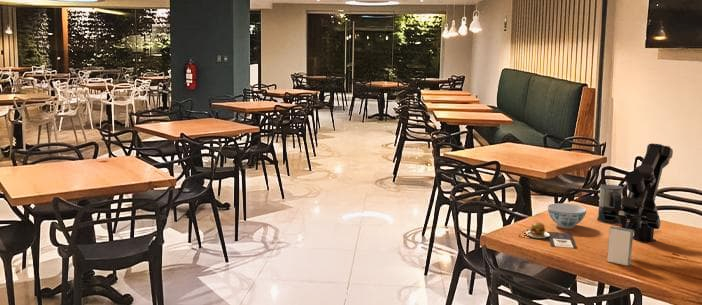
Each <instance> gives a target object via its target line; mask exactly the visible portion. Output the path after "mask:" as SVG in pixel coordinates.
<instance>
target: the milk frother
mask: <svg viewBox="0 0 702 305" xmlns="http://www.w3.org/2000/svg"><path fill="white" fill-rule="evenodd" d="M623 189H624V187H623V186H621V185H618V184H617V185H615V184H599V200H598V201H599V202H598V214H597V218H596V219H597V221H599V222H602V223H608V224H619V222H618V218H617V217H616V219H615V220H614V221H607V220H604V219H603V217H602V213H601V210H602V207H604V206H609V207H615V211H616V212H619V211H622V209H621V208H622V206H621V201H622V197H623ZM628 221H630V220H629V219H628V220H627V222H628Z"/></svg>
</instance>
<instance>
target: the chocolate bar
mask: <svg viewBox="0 0 702 305" xmlns="http://www.w3.org/2000/svg"><path fill="white" fill-rule="evenodd" d="M547 233H549V234H550V236H548V237H549V241H550V242H549V244H550V246H551V247H553V248H563V249H564V248H565V249H567V248H568V249H578V246H577V244H576V241H575V239H574V237H573V234H572V233H571V232H556V231H547Z"/></svg>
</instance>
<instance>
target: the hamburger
mask: <svg viewBox="0 0 702 305" xmlns="http://www.w3.org/2000/svg"><path fill="white" fill-rule="evenodd" d="M526 229H527V232H526V233H524V234H526V235H524V236H527V235H528V236H527V237H529V238H527V239H530V240H535V241H542V242H547V243H548V242H549V243H550V241H549V237H548V236H550V234H549V233H547V232H548V231H547V232H546V228H545V224H543V223H542V222H539V221H536V222H533V223H532V224H531V225H530V229H528V228H526ZM528 230H529V231H528ZM518 238H524V239H526V238H525V237H520V235H519V236H518Z"/></svg>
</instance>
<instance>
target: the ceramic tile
mask: <svg viewBox="0 0 702 305" xmlns="http://www.w3.org/2000/svg"><path fill="white" fill-rule="evenodd" d="M633 236H634V230H631V229H626V228H622V227H619V226H614V225H612V226H610V227H609V231H608V242H607V252H606V253H607V254H606V262H608V263H612V264H616V265H621V266H626V267H629V266H630V265H631V261H632V251H633Z"/></svg>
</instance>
